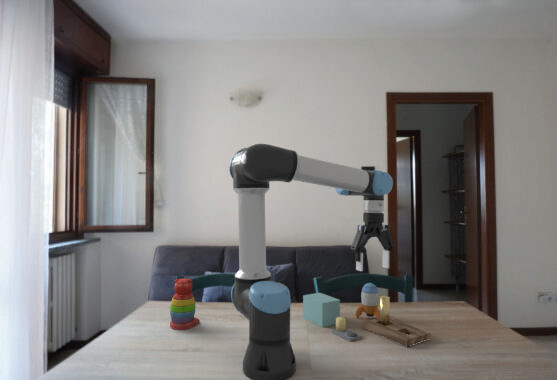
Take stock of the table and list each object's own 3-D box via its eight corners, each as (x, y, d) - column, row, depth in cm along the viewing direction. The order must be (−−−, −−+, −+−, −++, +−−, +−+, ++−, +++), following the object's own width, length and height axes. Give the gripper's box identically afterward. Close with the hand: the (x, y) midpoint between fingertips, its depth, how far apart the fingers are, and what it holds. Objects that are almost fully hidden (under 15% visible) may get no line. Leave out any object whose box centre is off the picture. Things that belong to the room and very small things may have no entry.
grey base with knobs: (349, 341, 121) (349, 326, 121) (331, 332, 130) (331, 318, 130) (361, 338, 124) (361, 323, 124) (343, 329, 132) (343, 315, 133)
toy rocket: (386, 324, 141) (381, 288, 139) (359, 328, 141) (354, 293, 139) (378, 312, 151) (374, 278, 149) (354, 316, 151) (348, 283, 150)
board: (407, 347, 117) (407, 339, 117) (363, 328, 134) (363, 321, 134) (430, 340, 123) (430, 332, 123) (385, 322, 140) (385, 316, 140)
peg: (385, 332, 130) (384, 298, 130) (377, 329, 133) (377, 296, 133) (391, 330, 132) (391, 297, 132) (384, 327, 135) (384, 295, 135)
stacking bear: (201, 321, 140) (201, 276, 141) (192, 330, 130) (192, 281, 131) (174, 320, 142) (175, 275, 142) (163, 329, 131) (164, 281, 132)
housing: (322, 327, 135) (322, 303, 135) (303, 317, 146) (303, 295, 146) (339, 323, 139) (339, 299, 139) (319, 314, 150) (319, 292, 150)
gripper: (355, 212, 125) (354, 273, 124) (404, 212, 137) (403, 268, 137) (341, 211, 131) (340, 269, 130) (389, 211, 144) (388, 265, 143)
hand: (372, 269), depth 133 cm, fingers open, 13 cm apart
